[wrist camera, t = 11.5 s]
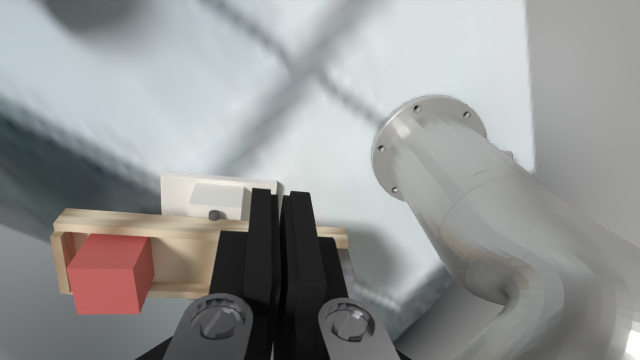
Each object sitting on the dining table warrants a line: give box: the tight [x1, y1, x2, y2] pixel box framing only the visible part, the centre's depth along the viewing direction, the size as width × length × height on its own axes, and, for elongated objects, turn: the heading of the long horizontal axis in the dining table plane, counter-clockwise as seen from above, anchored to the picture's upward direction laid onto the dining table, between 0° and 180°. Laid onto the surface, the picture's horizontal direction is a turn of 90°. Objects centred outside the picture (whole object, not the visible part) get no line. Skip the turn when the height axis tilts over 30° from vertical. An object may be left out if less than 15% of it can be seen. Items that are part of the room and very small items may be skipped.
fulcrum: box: [161, 171, 277, 221], centre depth 43 cm, size 12×11×5 cm
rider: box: [66, 233, 155, 314], centre depth 35 cm, size 5×5×5 cm
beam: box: [50, 208, 355, 299], centre depth 37 cm, size 26×9×7 cm, turn 81°
